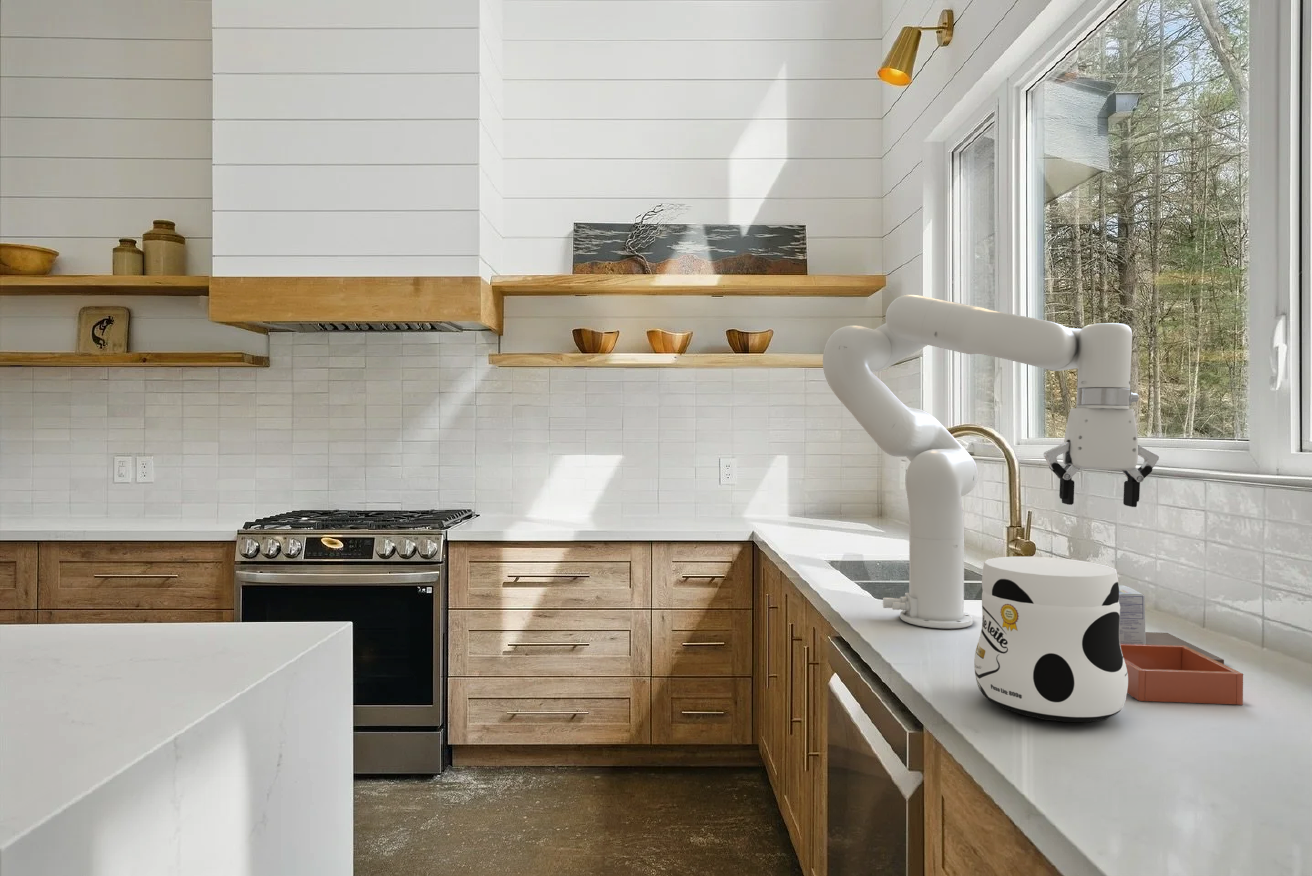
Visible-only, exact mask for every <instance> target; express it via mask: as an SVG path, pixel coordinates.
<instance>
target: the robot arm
mask: <svg viewBox="0 0 1312 876" xmlns="http://www.w3.org/2000/svg"><path fill="white" fill-rule="evenodd" d="M927 346H931V347H935V348H940V349H944V350H948V351H952V352H956V353H959V354H960V353H962V354H967V355H984V356H988V357H993V358H998V359H1002V360H1003V359H1004V360H1008V361H1011V362H1016V363H1019V364H1024V365H1029V366H1032V367H1037V368H1040V369H1043V370H1047V371H1053V372H1062V371H1068V370H1076V369H1077V386H1076V388H1077V389H1076V407H1071V408H1070V410H1069V413H1068V416H1067V417H1068V418H1067V421H1066V427H1065V431H1064V438H1063V439H1064V440H1063V443H1061V444H1060V445H1057V446H1054V447H1052V448H1050V449H1048V450H1046V451H1044V452H1043V457H1044V459H1045V462H1046V463H1047V464H1048V468H1049V469H1050V470H1051V471H1052V472H1053V473H1054V475H1055V476H1056V477H1057V478H1058V479H1059V493H1058V494H1059V495H1058V496H1059V499H1060V500H1061V503H1062V504H1065V505H1068V506H1069V505H1070V506H1072V505H1074V503H1075V481H1074V480H1073V477H1074V475H1075V474H1077V472H1078V471H1079V470H1081V469H1082V470H1101V471H1102V470H1104V471H1105V470H1106V471H1120V472H1122V474H1123V475H1124V476H1125V477H1126V478H1127V480H1124V482H1123V497H1122V498H1123V499H1122V501H1123V502H1122V504H1123V505H1124V506H1125V507H1131V508H1137V506H1138V502H1139V501H1140V493H1141V483H1143V482H1144V480H1145V478H1147V477H1148V476H1149V475H1150V474H1151V473H1152V472H1153V469H1154V467H1155V466H1156V464H1157V463H1158V461H1159V458H1160V457H1159V455H1158V454H1156V453H1154V452H1152V451H1150V450H1149V449H1147V448H1145V447H1143V446H1140V445H1139V441H1138V440H1139V439H1138V428H1137V422H1136V416H1135V411H1134V409H1133V408H1130V406H1131V405H1132V403H1137V402H1139V394H1138V393H1133V392H1132V389H1131V373H1132V372H1131V371H1132V350H1133V349H1132V348H1133V331H1132V328H1131V327H1130V326H1129V325H1128V324H1125V323H1120V322H1119V323H1118V322H1102V323H1099V322H1098V323H1092V324H1087V325H1085V326H1083V327H1082V328H1072V327H1067V326H1065V325H1062V324H1060V323H1057V322H1054V321H1051V320H1045V319H1041V318H1035V317H1031V316H1030V317H1029V316H1024V315H1018V314H1015V313H1014V314H1013V313H1009V312H1002V311H998V310H992V309H988V308H986V307H981V306H977V305H971V304H965V303H959V302H954V301H950V300H944V299H938V298H934V297H930V296H924V295H918V294H904V295H903V294H902V295H900V296H898V297H896V298H895V299H894V300H892V301H891V303H890V304H889V305H888V307H887V309H886V311H885V323H883V324H880V325H879V326H877V327H876V328H870V327H866V326H863V325H856V324H855V325H844V326H842V327H839V328H838V329H836V330H835V331H833V333H831V335H830V336H829V337H828V339H827V340H826V343H825V345H824V349H823V355H822V368H823V374H824V377H825V380H826V383H827V384H828V386H829V389H831V391H832V392H833V394H834V395H835V396H836V398H837V399H838V400H839V401H840V403H842V405H843V406H844V407H845V408H846V409H847V410H848V412H850V414H851V415H852V416H853V417H854V418H855V420H856V421H857V422H858V423H859V425H861V427H862V428H863V429H864V430H865V431H866V432H867V434H868V435H869V437H871V438H872V441H874V442H875V443H876V445H877V446H878V447H879V448H880V449H881V451H882V452H884V453H885V454H887V455H889V456H891V457H898V458H899V457H903V458H904V457H906V458H907V459H908V461H909V462H910V463H909V464H908V467H907V469H906V473H905V490H906V491H905V492H906V498H907V504H908V535H909V541H908V542H909V544H908V545H909V547H908V549H909V551H908V553H909V555H908V559H909V561H908V565H909V566H908V573H909V574H908V592H905V593H904V596H900V597H899V598H895V597H883V598H882V608H883V609H891V610H893V611H899V610H900V619H901V620H902V621H903V622H905V623H908V624H911V625H914V626H918V627H923V628H932V629H947V630H948V629H963V628H964V629H965V628H968V627H971V626H973V624H974V617H973V616H972V615H971V614H970V613H968V612H965V518H964V510H963V503H962V497H964V496H966V495H968V494H969V493H971V492H972V491H973V490H974V488H975V487H976V485H977V483H978V479H979V468H978V466H977V463H976V461H975V460H974V458H973V456H971V454H970V453H969V452H968V451H967V449H966V448H964V446H963V445H962V444H961V443H960V442H959V441H958V440H957V439H956V438H955V437H954V436H953V434H952V433H950V431H948V428H946V427H945V426H944V425H943V424H942V423H941V422H940V421H939V420H938V419H937V418H936V417H935V416H934V415H932V414H931V413H929V412H928V411H926V410H923V409H920V408H917V407H910V406H907V405H906V404H905V403H903V402H902V401H901V400H900V399H899V398H898V396H896V394H894V392H893V391H892V390H891V389H890V388H889V387H888V386H887V385H886V384H885V382H883V381H882V380H881V379H880V378H879V377H878V376H877V375H876V374H874V373H875V372H879V371H880V372H881V371H883V370H886V369H888V368H890V367H892V366H894V365H895V364H897V363H899V362H901V361H902V360H904V359H906V358H908V357H909V356H911V355H914V354H915V353H917V352H919V351H920V350H922V349H924V348H925V347H927ZM873 372H874V373H873ZM1060 455H1062V463H1063V466H1062V465H1061V464H1060V463H1059V462H1058V461H1059V460H1058V459H1057V458H1058V456H1060ZM1139 457H1140V458H1142V459H1143V463H1142V465H1140V466H1139V467H1138V468H1137V465H1138V460H1139V459H1138V458H1139Z"/></svg>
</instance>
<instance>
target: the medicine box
mask: <svg viewBox="0 0 1312 876" xmlns="http://www.w3.org/2000/svg"><path fill="white" fill-rule="evenodd" d="M1119 604H1120V625H1119V638H1120V644H1146V641H1145V632H1146V596H1145V594H1144V593H1142V592H1140V591H1139V590H1136V589H1134V588H1131V587H1129V586H1127V585H1123V584H1119Z"/></svg>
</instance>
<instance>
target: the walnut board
mask: <svg viewBox="0 0 1312 876" xmlns="http://www.w3.org/2000/svg"><path fill="white" fill-rule="evenodd" d="M1145 641H1146V644H1151V645H1185V646H1187V647H1189V648H1191V649H1193V650H1195V651H1197V652H1199V653H1201V654H1203V655H1205V656H1207V657H1209V658H1211V659H1214V660H1216V661H1218V662H1220V663H1222V664H1224V665H1225V660H1224V658H1221V657H1219V656H1217V655H1215V654H1213V653H1211V652H1209V651H1207V650H1204V649H1203V648H1200V647H1199V646H1197V645H1194V644H1192V643H1190V642H1187V640H1183V639H1181V638H1179V637H1177V636H1175V635H1173V634H1171V633H1169V632H1155V631H1154V632H1152V631H1145Z"/></svg>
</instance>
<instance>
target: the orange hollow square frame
mask: <svg viewBox="0 0 1312 876" xmlns="http://www.w3.org/2000/svg"><path fill="white" fill-rule="evenodd" d="M1120 646H1121V650H1122V654H1123V657H1124V661H1125V664H1126V668H1127V672H1128V689H1127V695H1130V697H1132V698H1133V699H1135V700H1137V701H1139V702H1158V703H1161V702H1162V703H1182V704H1183V703H1187V704H1189V703H1190V704H1211V705H1213V704H1215V705H1237V706H1243V705H1244V674H1243V673H1242V672H1241V671H1238V670H1236V669H1234V668H1232V667H1231V666H1228V665H1226V664H1225V663H1224V664H1222V663H1220V662H1218V661H1216V660H1214V659H1211V658H1209V657H1207V656H1205V655H1203V654H1201V653H1199V652H1197V651H1195V650H1193V649H1191V648H1189V647H1187V646H1185V645H1151V644H1120Z"/></svg>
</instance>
